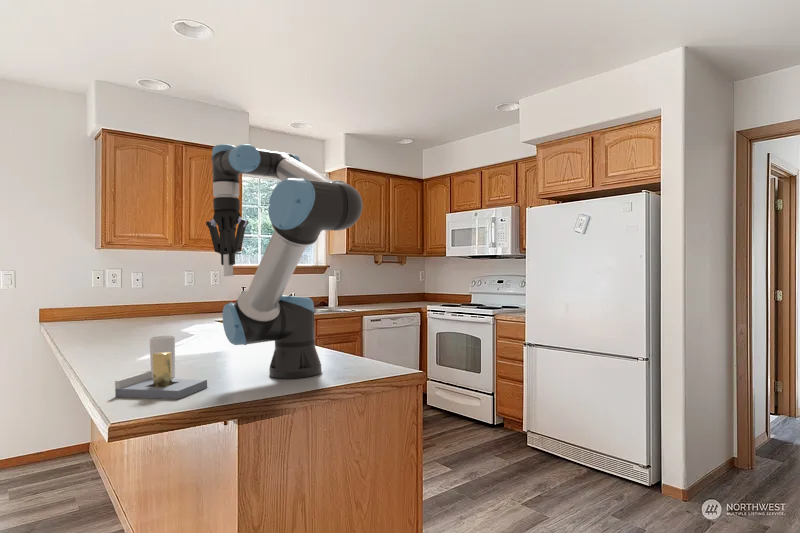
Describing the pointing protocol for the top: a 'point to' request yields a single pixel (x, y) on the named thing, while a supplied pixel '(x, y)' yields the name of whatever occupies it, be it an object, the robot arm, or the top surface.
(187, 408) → the top surface
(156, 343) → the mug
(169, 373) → the gold rectangular block
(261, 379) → the top surface
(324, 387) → the top surface
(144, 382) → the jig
